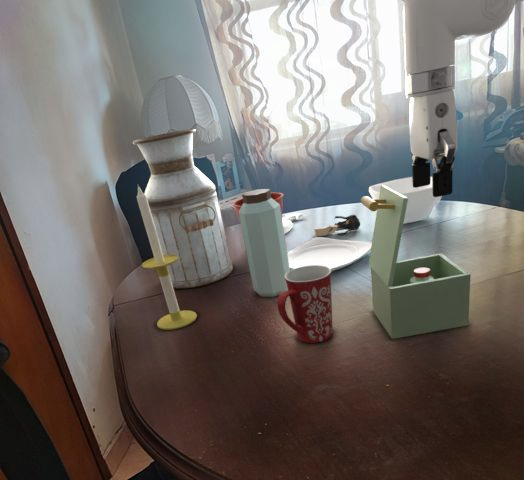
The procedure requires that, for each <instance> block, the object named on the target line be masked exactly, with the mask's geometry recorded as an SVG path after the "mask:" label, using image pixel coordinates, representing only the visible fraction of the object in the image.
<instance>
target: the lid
mask: <svg viewBox="0 0 524 480" xmlns="http://www.w3.org/2000/svg"><path fill="white" fill-rule="evenodd" d="M360 202H361V204H362V206H365V207H366V208H367V209H368V210H370V211H371V212H376V214H375V220H374V227H373V233H372V241H371V242H372V246H371V250H370V251H369V252H370V253H369V260H368V265H369V266H370V268H371V267H372V269H373V270H374V271H375V272H376V273H377V275H378V276H379V277H380V278H381V279H382V280H383V282H384V283H385V284H386V285H387V286H388V287H392V284H393V278H394V273H395V268H396V262H398V256H399V252H400V246H401V240H402V234H403V230H404V225H405V224H404V219H405V213H406V208H407V203H408V198H407V197H405V196H403V195H401V194H399V193H398V192H396V191H394V190H392V189H390V188H389V187H387V186H385V185H381V188H380V195H379V199H373V198H372V197H370V196H368V195H364V196H362V197H361V198H360Z"/></svg>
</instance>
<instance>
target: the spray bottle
mask: <svg viewBox="0 0 524 480" xmlns="http://www.w3.org/2000/svg"><path fill="white" fill-rule="evenodd" d="M304 217H305V214H304V213H291V214H285V216H284V217H282V222H283V229H284V235H286V234H288V232H290V231H291V230H292V229H293V228H294V223H293V222H292V221H293V220H296V219H297V220H299V219H300V218H304Z"/></svg>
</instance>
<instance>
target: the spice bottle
mask: <svg viewBox="0 0 524 480" xmlns="http://www.w3.org/2000/svg"><path fill="white" fill-rule="evenodd" d="M428 280H434V278H433V277H432V276H430V269H429V268H417V269H415V270H414V277H412V278H411V279H410V284H412V283H417V282H423V281H428Z"/></svg>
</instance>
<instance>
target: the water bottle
mask: <svg viewBox="0 0 524 480" xmlns="http://www.w3.org/2000/svg"><path fill="white" fill-rule="evenodd" d="M271 193H272V191H271V188H270V189H269V188H259V189H258V188H257V189H253V190H249V191H245V192H244V193H243V194H242V196H241V197H242V198H243V205H242V206H241V208H240V210H239V217H240V220H239V223H240V222H241V223H240V227H241V232H242V236H243V242H244V247H245V252H246V258H247V262H248V268H249V273H250V279H251V284H252V288H253V290H254V292H256V293H257V294H258V295H259V296H261V297H262V298H274V297H277V296H278V297H279V295H280V294H281V293H282V292H284V291H288V288H287V283H286V280H285V279H284V275H285V274H286V273H287V272H289V271H290V268H289V262H288V255H287V252H288V250H287V243H286V236H285V235H286V234H284V229H283V222H282V218H283V214H282V215H281V209H280V204H279V203H277V202H276V201H275V200H273V199H272V198H271ZM239 217H238V218H239Z"/></svg>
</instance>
